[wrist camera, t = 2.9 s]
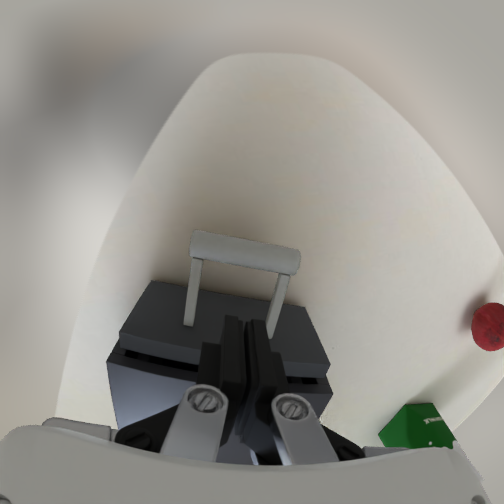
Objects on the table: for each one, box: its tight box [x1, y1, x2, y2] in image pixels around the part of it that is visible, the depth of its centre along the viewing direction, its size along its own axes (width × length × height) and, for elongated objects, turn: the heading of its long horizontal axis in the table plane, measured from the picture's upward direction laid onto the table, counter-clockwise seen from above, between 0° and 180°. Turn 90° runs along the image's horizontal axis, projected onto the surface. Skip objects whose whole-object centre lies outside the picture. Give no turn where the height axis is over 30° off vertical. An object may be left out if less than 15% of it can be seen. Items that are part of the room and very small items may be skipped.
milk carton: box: [378, 403, 484, 483], centre depth 22 cm, size 9×9×20 cm
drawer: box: [119, 230, 331, 384], centre depth 19 cm, size 20×13×7 cm, turn 168°
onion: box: [471, 303, 504, 351], centre depth 22 cm, size 6×6×8 cm
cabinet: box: [106, 340, 333, 465], centre depth 21 cm, size 15×14×9 cm
